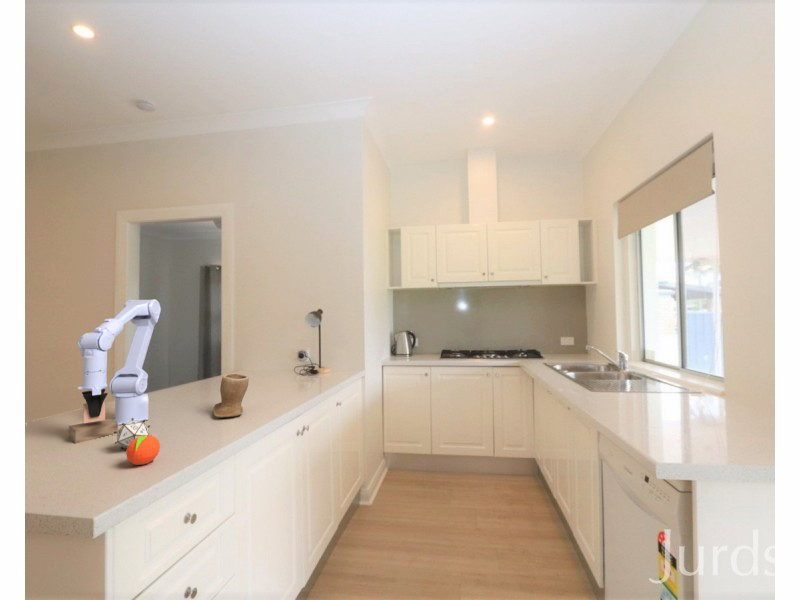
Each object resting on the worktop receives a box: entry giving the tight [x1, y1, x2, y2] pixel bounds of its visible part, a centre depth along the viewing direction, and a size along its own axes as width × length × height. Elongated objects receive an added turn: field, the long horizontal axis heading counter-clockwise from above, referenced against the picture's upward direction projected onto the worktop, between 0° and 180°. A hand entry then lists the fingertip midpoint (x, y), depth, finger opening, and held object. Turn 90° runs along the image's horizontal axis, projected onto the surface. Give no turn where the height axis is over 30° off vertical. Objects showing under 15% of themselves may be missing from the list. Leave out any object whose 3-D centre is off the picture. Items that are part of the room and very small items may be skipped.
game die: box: [113, 418, 153, 450], centre depth 100 cm, size 9×8×10 cm
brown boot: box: [213, 372, 250, 418], centre depth 135 cm, size 15×12×15 cm
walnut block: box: [68, 417, 119, 445], centre depth 111 cm, size 10×8×4 cm
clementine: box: [126, 434, 161, 466], centre depth 90 cm, size 8×7×7 cm
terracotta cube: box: [82, 401, 106, 423], centre depth 112 cm, size 5×5×5 cm
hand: (94, 415), depth 112 cm, fingers closed on terracotta cube, 5 cm apart
